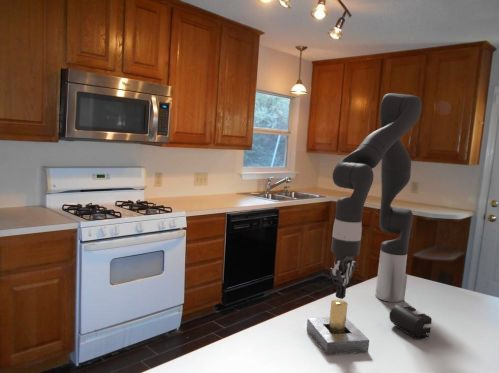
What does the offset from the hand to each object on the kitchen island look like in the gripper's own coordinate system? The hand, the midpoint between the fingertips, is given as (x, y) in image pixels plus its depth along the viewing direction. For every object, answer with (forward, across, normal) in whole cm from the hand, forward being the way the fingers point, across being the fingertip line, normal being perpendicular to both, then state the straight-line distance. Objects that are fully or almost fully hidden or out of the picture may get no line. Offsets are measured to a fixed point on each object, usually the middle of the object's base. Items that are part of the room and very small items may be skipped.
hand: (340, 297), depth 112 cm
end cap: (+13, +21, -14) cm, 28 cm away
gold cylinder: (+13, 0, 0) cm, 13 cm away
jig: (+13, 0, 0) cm, 13 cm away
